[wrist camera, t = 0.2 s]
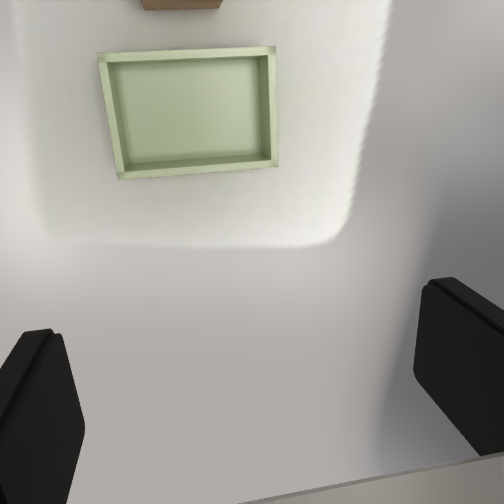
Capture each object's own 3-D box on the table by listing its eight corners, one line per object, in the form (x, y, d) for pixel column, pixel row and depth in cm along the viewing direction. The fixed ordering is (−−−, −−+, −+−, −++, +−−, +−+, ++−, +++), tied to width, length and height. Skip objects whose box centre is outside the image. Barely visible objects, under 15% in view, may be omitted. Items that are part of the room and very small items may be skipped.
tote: (107, 58, 34) (96, 53, 30) (262, 51, 36) (275, 46, 32) (125, 169, 38) (118, 180, 33) (266, 157, 40) (278, 166, 35)
